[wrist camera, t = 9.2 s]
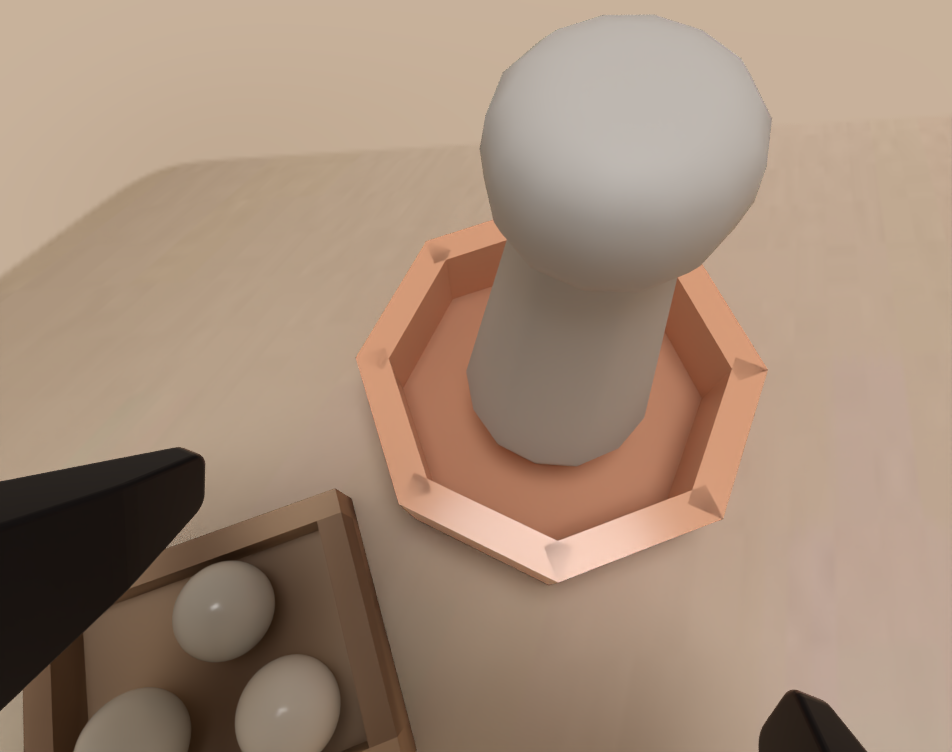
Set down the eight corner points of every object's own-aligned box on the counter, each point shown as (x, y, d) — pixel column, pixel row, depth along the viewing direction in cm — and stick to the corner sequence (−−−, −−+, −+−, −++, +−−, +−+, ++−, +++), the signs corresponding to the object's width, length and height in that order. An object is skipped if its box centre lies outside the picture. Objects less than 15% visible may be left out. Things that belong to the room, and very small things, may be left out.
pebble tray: (84, 885, 15) (27, 925, 13) (70, 599, 18) (21, 600, 16) (416, 750, 16) (405, 770, 14) (351, 498, 19) (335, 488, 17)
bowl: (447, 623, 17) (435, 630, 14) (355, 319, 22) (330, 271, 19) (775, 496, 18) (834, 476, 15) (624, 230, 23) (644, 171, 20)
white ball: (121, 805, 15) (44, 848, 13) (113, 700, 16) (41, 719, 14) (216, 767, 16) (160, 802, 13) (202, 666, 17) (147, 679, 14)
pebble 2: (210, 670, 17) (156, 684, 14) (197, 580, 18) (145, 578, 15) (297, 637, 17) (260, 645, 14) (279, 550, 18) (242, 543, 15)
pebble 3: (270, 771, 16) (224, 806, 13) (252, 668, 17) (207, 683, 14) (362, 734, 16) (334, 762, 13) (339, 635, 17) (310, 643, 14)
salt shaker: (508, 506, 18) (521, 332, 6) (448, 363, 20) (367, 19, 8) (663, 442, 19) (959, 164, 7) (589, 309, 21) (710, -88, 9)
